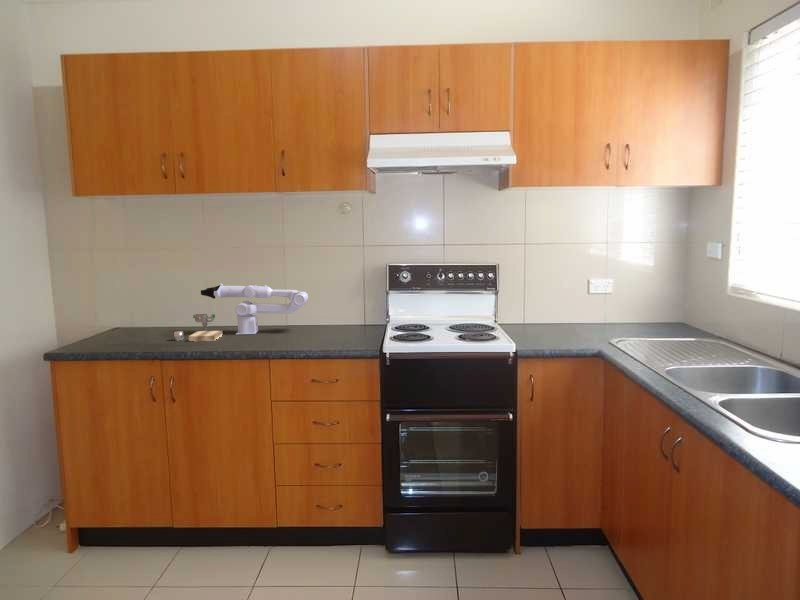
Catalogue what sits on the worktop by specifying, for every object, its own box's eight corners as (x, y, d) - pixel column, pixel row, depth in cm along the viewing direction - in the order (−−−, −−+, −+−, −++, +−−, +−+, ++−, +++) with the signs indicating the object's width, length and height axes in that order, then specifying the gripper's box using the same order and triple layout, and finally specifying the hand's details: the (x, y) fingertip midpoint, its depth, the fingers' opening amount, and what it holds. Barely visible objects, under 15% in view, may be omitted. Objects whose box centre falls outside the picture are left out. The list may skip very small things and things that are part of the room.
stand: (222, 335, 267) (222, 330, 267) (214, 340, 255) (214, 335, 255) (197, 336, 267) (197, 331, 267) (188, 341, 255) (188, 336, 255)
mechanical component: (214, 334, 271) (213, 314, 269) (194, 334, 271) (192, 314, 269) (216, 333, 273) (215, 313, 272) (196, 333, 274) (194, 313, 272)
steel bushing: (185, 339, 261) (184, 330, 261) (181, 341, 257) (181, 332, 257) (176, 339, 261) (176, 331, 261) (173, 341, 257) (172, 332, 257)
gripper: (235, 281, 276) (208, 281, 276) (226, 285, 262) (198, 285, 261) (235, 295, 277) (208, 295, 277) (227, 299, 263) (198, 299, 262)
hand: (203, 291), depth 269 cm, fingers open, 7 cm apart
